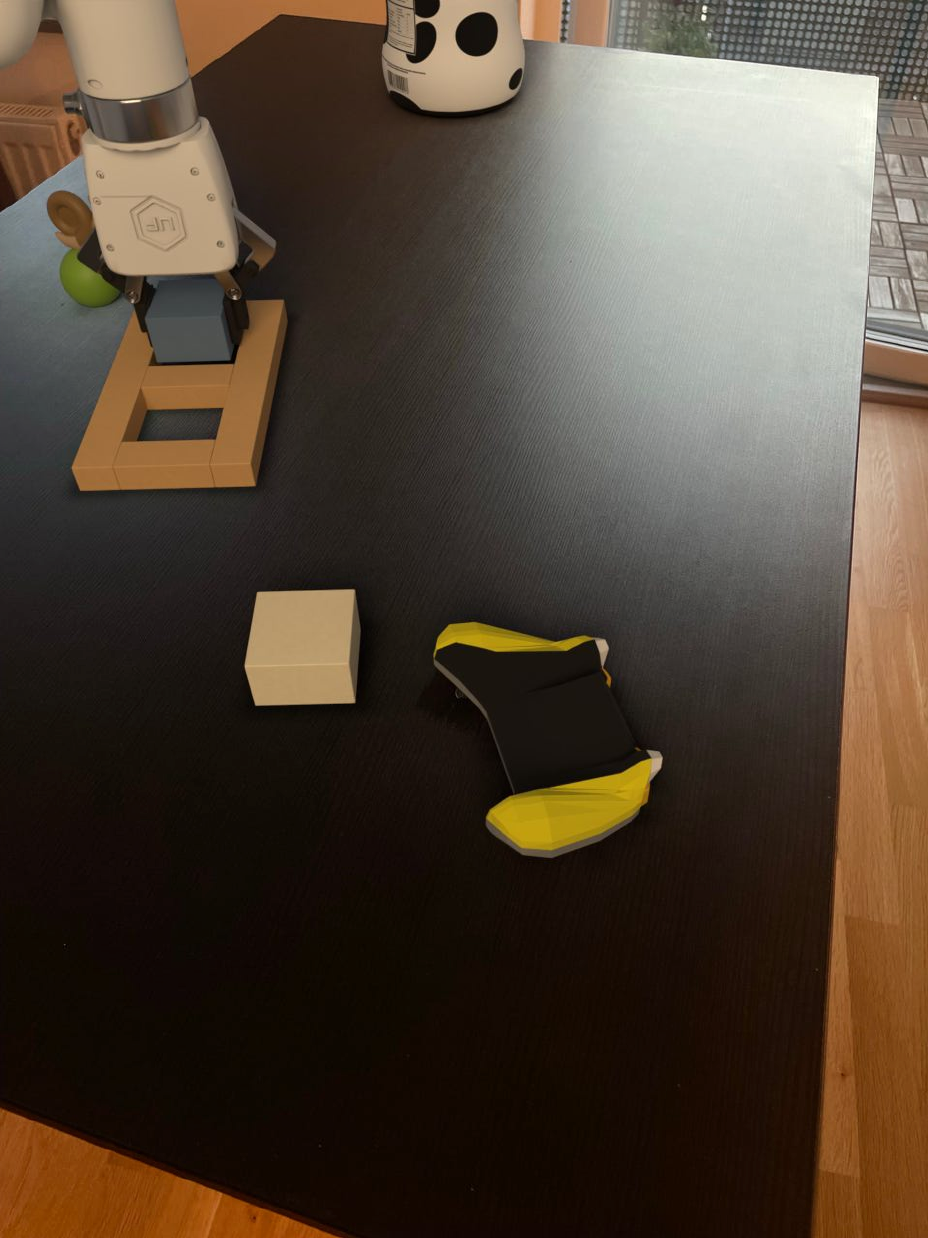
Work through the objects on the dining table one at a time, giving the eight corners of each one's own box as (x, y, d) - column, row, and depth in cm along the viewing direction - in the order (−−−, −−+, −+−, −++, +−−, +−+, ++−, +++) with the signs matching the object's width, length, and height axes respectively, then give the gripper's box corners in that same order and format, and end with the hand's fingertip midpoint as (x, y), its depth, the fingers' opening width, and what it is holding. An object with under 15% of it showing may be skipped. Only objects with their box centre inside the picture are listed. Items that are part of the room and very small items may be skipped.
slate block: (157, 362, 81) (144, 318, 78) (170, 323, 85) (158, 280, 82) (230, 360, 81) (220, 316, 78) (240, 321, 85) (231, 277, 82)
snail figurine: (118, 323, 90) (78, 191, 81) (58, 313, 91) (12, 182, 83) (150, 294, 93) (115, 164, 85) (91, 284, 95) (50, 155, 86)
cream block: (256, 709, 60) (244, 666, 57) (267, 635, 64) (257, 591, 61) (356, 706, 60) (349, 663, 57) (361, 632, 64) (355, 588, 61)
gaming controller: (496, 895, 51) (677, 848, 53) (497, 840, 47) (693, 791, 49) (428, 677, 61) (582, 644, 63) (424, 617, 57) (588, 582, 59)
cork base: (81, 494, 74) (70, 467, 72) (143, 328, 89) (136, 302, 87) (256, 490, 74) (250, 463, 72) (288, 324, 89) (284, 298, 87)
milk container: (535, 80, 128) (540, -87, 115) (508, 134, 117) (511, -45, 104) (406, 72, 131) (396, -92, 118) (367, 123, 120) (352, -52, 107)
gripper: (3, 134, 67) (84, 365, 80) (258, 125, 67) (298, 359, 80) (33, 92, 72) (105, 316, 85) (271, 84, 72) (306, 310, 85)
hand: (198, 335), depth 83 cm, fingers closed on slate block, 6 cm apart
